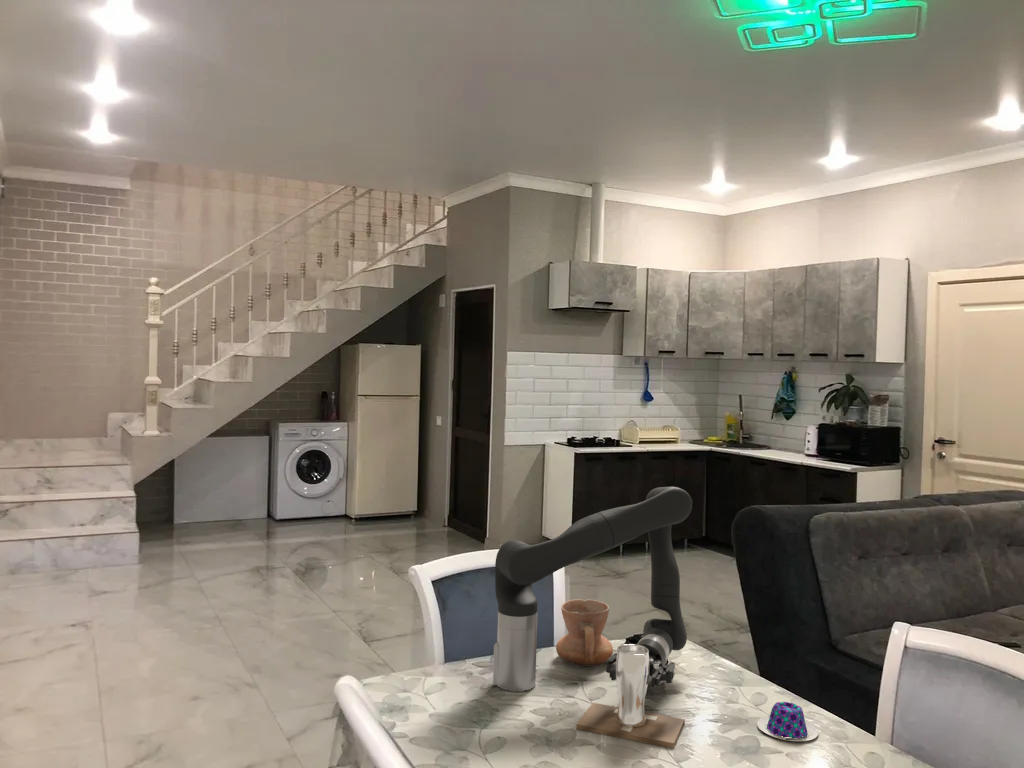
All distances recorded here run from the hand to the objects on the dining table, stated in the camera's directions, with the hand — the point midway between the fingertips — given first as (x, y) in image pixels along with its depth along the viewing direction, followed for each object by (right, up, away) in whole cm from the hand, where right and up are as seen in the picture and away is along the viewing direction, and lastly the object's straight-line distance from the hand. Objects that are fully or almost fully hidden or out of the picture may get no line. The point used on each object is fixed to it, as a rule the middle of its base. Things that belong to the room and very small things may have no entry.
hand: (632, 679), depth 166 cm
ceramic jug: (-7, -9, +37) cm, 39 cm away
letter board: (0, -10, -1) cm, 10 cm away
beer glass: (0, -9, 0) cm, 9 cm away
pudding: (+32, -11, 0) cm, 34 cm away
